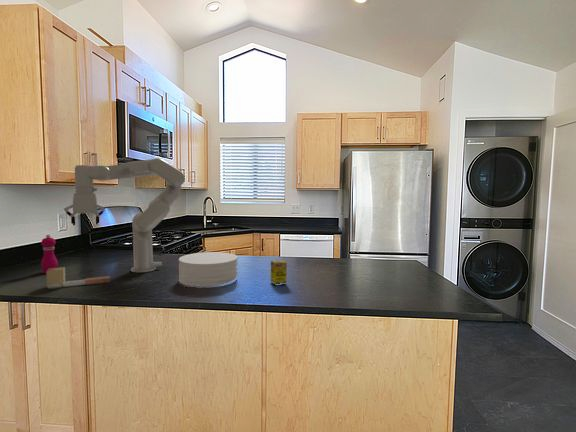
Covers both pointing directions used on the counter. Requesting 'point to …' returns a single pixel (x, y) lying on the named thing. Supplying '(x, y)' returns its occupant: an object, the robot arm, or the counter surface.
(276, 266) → the supplement box
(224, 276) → the plate stack
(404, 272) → the counter surface
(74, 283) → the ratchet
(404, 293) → the counter surface
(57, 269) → the mustard yellow cube
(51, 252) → the pepper mill
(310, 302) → the counter surface
